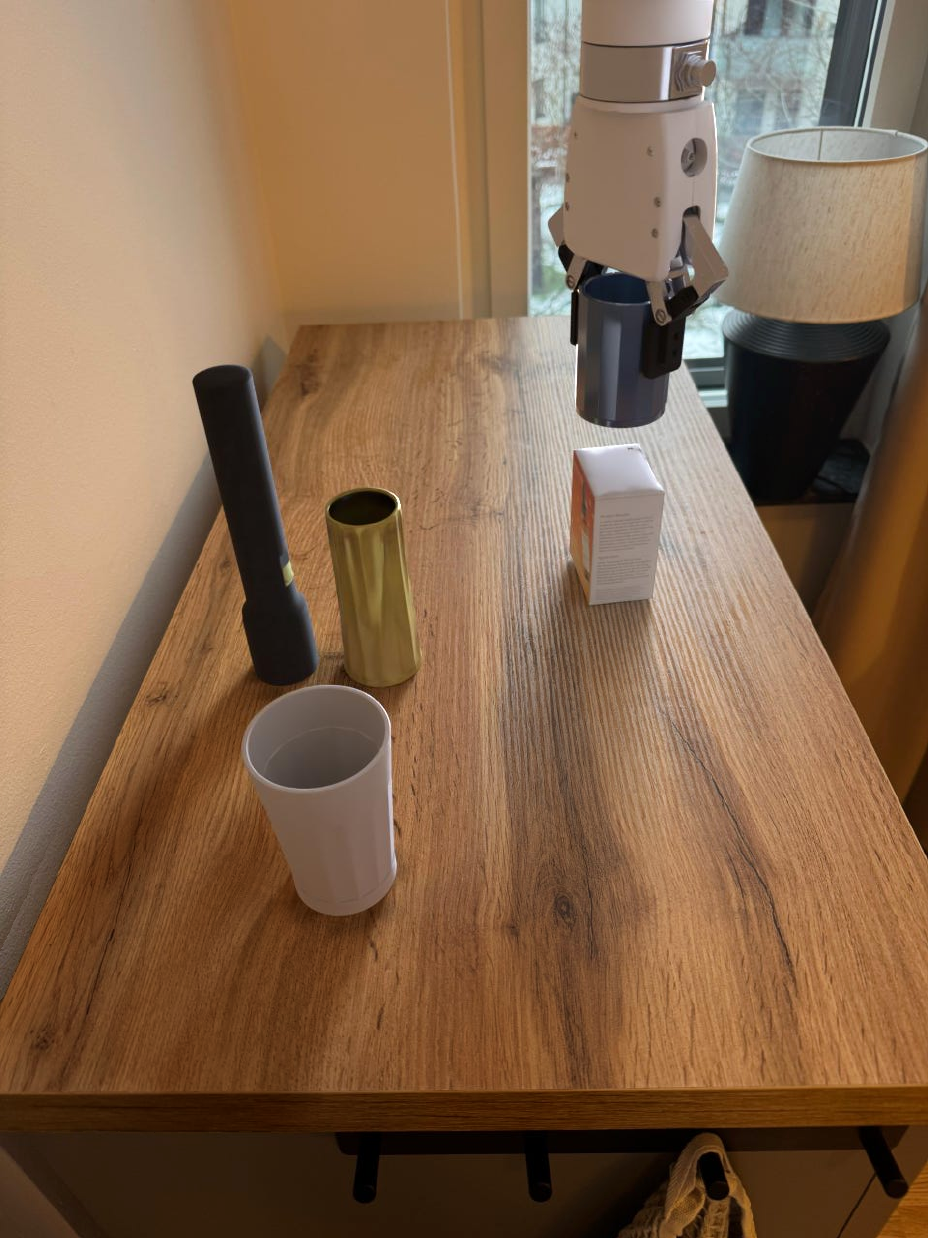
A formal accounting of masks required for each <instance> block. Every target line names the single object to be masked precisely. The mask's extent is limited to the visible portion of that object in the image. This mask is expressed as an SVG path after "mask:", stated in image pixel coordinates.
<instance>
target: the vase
mask: <svg viewBox="0 0 928 1238" xmlns="http://www.w3.org/2000/svg"><path fill="white" fill-rule="evenodd" d="M324 519H325V523H326V524H325V525H326V531H327V539H328V546H329V553H330V558H331V564H332V565H331V566H332V569H333V576H334V583H335V590H336V597H337V603H338V604H337V605H338V611H339V617H340V618H339V620H340V621H339V622H340V629H341V641H342V646H343V666H344V670H345V672H346V674H347V675H348V676H349V678H350V679H351V680H353V681H354V682H356V683H359V684H360V685H363V686H365V687H369V688H388V687H392V686H396V685H399V684H403V683H404V682H406V681H408V680H409V679H411V678H412V677H413V676H414V675H415V674H416V673H418V671H419V670H420V667H421V666H422V663H423V651H422V648H421V643H420V638H419V632H418V624H417V617H416V611H415V605H414V600H413V594H412V586H411V580H410V576H409V575H410V574H409V569H408V561H407V549H406V544H405V533H404V523H403V512H402V507H401V503H400V499H399V498H398V496H396V494H394V492H391V491H389V490H387V489H384V488H380V487H375V486H374V487H373V486H361V487H354V488H351V489H348V490H344V491H342V492H340V493H338V494H336V495H334V496H332V497H331V498H330V499H329V500H328V502H326V504H325V507H324Z"/></svg>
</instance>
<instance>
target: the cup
mask: <svg viewBox="0 0 928 1238" xmlns="http://www.w3.org/2000/svg"><path fill="white" fill-rule="evenodd" d="M391 728H392V727H391V721H390V718H389V716H388V714H387V712H386V710H385V709H384V707H383V706H382V705H381V703H380V702H379V701H378V700H376V698H374V697H373V696H371V695H370V694H368V693H366V692H364V691H362V690H359V689H356V688H354V687H351V686H345V685H337V684H319V685H311V686H307V687H303V688H299V689H295V690H292V691H290V692H287V693H285V694H283V695H281V696H278V697H277V698H275V699H274V700H272V701H271V702H269V703H268V704H266V705H265V706H263V708H262V709H260V710H259V711H258V712H257V713H256V714H255V715H254V716H253V718H252V719H251V721H250V722H249V724H247V727H246V728H245V731H244V733H243V736H242V739H241V746H240V747H241V748H240V752H241V753H240V754H241V758H242V762H243V764H244V768H245V769H246V772H247V774H248V776H249V778H250V781H251V782H252V785H253V788H254V790H255V792H256V793H257V796H258V798H259V801H260V803H261V804H262V807H263V808H264V810H265V812H266V815H267V817H268V819H269V821H270V824H271V827H272V829H273V832H274V834H275V837H276V839H277V841H278V844H279V846H280V848H281V850H282V853H283V855H284V858H285V861H286V863H287V865H288V868H289V870H290V873H291V877H292V881H293V884H294V888H295V891H296V893H297V895H298V897H299V899H300V900H301V901H302V903H304V905H305V906H306V907H308V908H309V909H310V910H313V911H315V912H317V913H320V914H322V915H326V916H333V917H342V916H343V917H347V916H351V915H355V914H356V915H357V914H359V913H361V912H364V911H366V910H368V909H370V908H372V907H373V906H375V905H377V904H378V903H379V902H380V901H382V899H384V897H385V896H386V895H387V894H388V892H389V891H390V890H391V888H392V886H393V885H394V882H395V879H396V875H397V870H398V869H397V868H398V867H397V857H396V852H395V836H394V809H393V807H394V806H393V786H392V785H393V784H392V782H393V781H392V729H391Z"/></svg>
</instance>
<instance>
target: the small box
mask: <svg viewBox="0 0 928 1238" xmlns="http://www.w3.org/2000/svg"><path fill="white" fill-rule="evenodd" d="M571 477H572V478H571V496H570V497H571V501H570V527H569V551H568V552H569V554H570V556H571V560H572V561H573V563H574V566H575V569H576V572H577V574H578V577H579V581H580V584H581V587H582V590H583V592H584V595H585V598H586V601H587V604H588V605H589V606H597V605H603V604H614V603H623V602H632V601H633V602H634V601H643V600H651V599H653V597H654V592H655V591H654V590H655V582H656V572H657V564H658V556H659V549H660V548H659V547H660V538H661V530H662V521H663V513H664V506H665V505H664V504H665V503H664V502H665V496H666V492H665V491H664V489H663V487H662V486H661V484H660V482H659V481H658V479H657V478H656V476H655V474H654V472H653V470H652V468H651V466H650V465H649V462H648V461H647V459H646V457H645V454H644V453H643V451H642V448H641V445H640V444H639V443H627V444H617V445H616V444H615V445H607V446H605V445H604V446H596V447H585V448H576V449H573V452H572V476H571Z"/></svg>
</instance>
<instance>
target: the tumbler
mask: <svg viewBox="0 0 928 1238" xmlns="http://www.w3.org/2000/svg"><path fill="white" fill-rule="evenodd" d="M665 285H666V289H667V293H668V297H669V300H670V299H671V298H672V297H673V296H674V291H673V287H672V283H671V280H668V281H665ZM653 320H655V319H654V315H653V311H652V307H651V303H650V299H649V295H648V291H647V287H646V283H645V280H643V279H640V278H637V277H634V276H631V275H628V274H626V273H623V272H620V271H610V272H606V273H605V274H599V275H596V276H593V277H591V278H588V279H586V280H584V281H583V282H582V283H581V284H580V285H579V286H578V310H577V342H576V346H575V347H576V349H575V376H574V377H575V379H574V382H575V383H574V401H575V402H574V409H575V412H576V414H577V416H578V417H580V419H582V420H584V421H585V422H588V423H589V424H593V425H596V426H599V427H602V428H603V427H604V428H611V429H634V428H640V427H645V426H648V425H650V424H653V423H656V422H657V421H658V420H660V419H661V418H662V417H663V415H664V414H665V412H666V407H667V403H668V396H669V395H668V393H669V383H670V376H671V375H670V374H671V372H670V373H668V374H665V375H663V376H660V377H658V378H655V379H653V380H649V379H647V378H645V377H644V376H643V373H642V371H643V358H644V346H645V333H646V325H647V322H650V321H653Z"/></svg>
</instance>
